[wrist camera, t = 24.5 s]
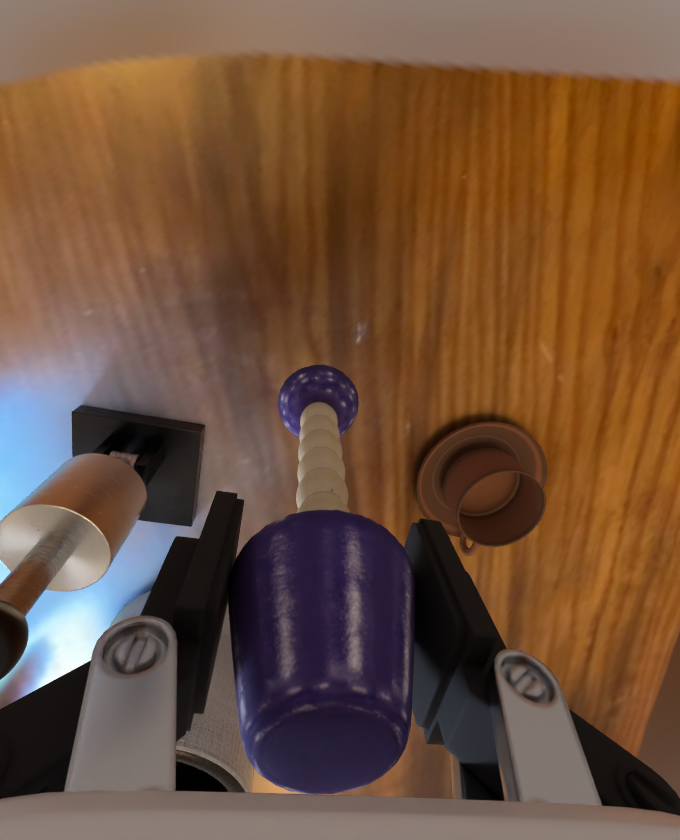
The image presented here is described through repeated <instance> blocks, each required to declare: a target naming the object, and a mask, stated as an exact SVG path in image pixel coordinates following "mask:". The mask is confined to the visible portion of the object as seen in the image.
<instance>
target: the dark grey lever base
mask: <svg viewBox="0 0 680 840" xmlns="http://www.w3.org/2000/svg"><path fill="white" fill-rule="evenodd" d="M204 430H205V425H200V424H193V423H187V422H181V421H175V420H168V419H162V418H156V417H150V416H144V415H137V414H131V413H125V412H119V411H112V410H106V409H100V408H94V407H87V406H79V407H78V408H77V409H75V410H74V411H72V454H73V457H75V456H78V455H82V454H88V453H98V454H105V455H109V454H110V453H111V452H112V451H113V450H115V451H122V452H129V453H135V454H141V456H142V457H141V459H140V460H139V461H138V462H137V464H136V472H137V473H138V474H139V476H140V477H141V479H142V481H143V483H144V485H145V488H146V492H147V501H146V505H145V508H144V510H143V512H142V514H141V515H140V517H139V519H138V520H142V521H150V522H158V523H166V524H174V525H182V526H190V527H191V526H192V524H193V521H194V519H195V515H196V505H197V496H198V487H199V477H200V468H201V458H202V449H203V439H204Z"/></svg>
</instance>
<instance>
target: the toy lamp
mask: <svg viewBox="0 0 680 840" xmlns="http://www.w3.org/2000/svg"><path fill="white" fill-rule="evenodd" d="M278 407H279V413H280V416H281V418H282V421H283V423H284V424H285V426H286V427H287V428H288V429H289V430H290V431H291V432H292V433H293V434H294V435H295V436H297V437H298V438H299V439H300V445H299V449H298V457H299V461H300V463H299V467H298V472H297V475H298V481H299V486H298V489H297V494H296V501H297V507H298V511H297V513H295V514H291V515H288V516H286V517H284V518H282V519H281V520H278V521H275V522H273V523H271V524H269V525H267V526H265V527H264V528H263V529H262V530H261V531H260V532H258V533H257V534H255V535H254V536H253V537H251V539H250V540H249V541H248V542H247V543H246V544H245V546H244V547H243V548H242V550H241V552H240V553H239V555H238V556H237V558H236V560H235V562H234V564H233V567H232V571H231V575H230V580H229V586H228V611H229V622H230V635H231V647H232V659H233V669H234V680H235V690H236V700H237V709H238V718H239V727H240V734H241V739H242V743H243V746H244V750H245V753H246V756H247V758H248V760H249V762H250V763H251V765H252V766H253V767H254V768H255V770H256V771H257V772H258V773H259V774H260V775H261V776H262V777H264V778H266V779H267V780H269V781H270V782H272V783H273V784H275V785H277V786H279V787H282V788H284V789H287V790H289V791H292V792H300V793H308V794H334V793H339V792H344V791H348V790H352V789H356V788H359V787H362V786H365V785H367V784H370V783H371V782H373V781H375V780H376V779H378V778H380V777H381V776H383V775H384V774H385V773H386V772H388V771H389V770H390V769H391V768H392V767H393V766H394V765H395V764H396V763H397V761H398V760H399V758H400V757H401V755H402V753H403V751H404V750H405V747H406V744H407V740H408V736H409V732H410V726H411V714H412V693H413V669H414V640H415V578H414V573H413V568H412V565H411V562H410V559H409V557H408V555H407V553H406V551H405V549H404V548H403V546H402V545H401V544H400V543H399V542H398V541H397V539H396V537H395V536H393V535H392V534H391V533H390V532H389V531H388V530H387V529H386V528H384V527H383V526H382V525H380V524H377V523H376V522H374V521H372V520H371V519H369V518H365V517H364V516H362V515H357V514H353V513H350V511H349V509H348V507H347V504H348V490H347V487H346V484H345V482H344V480H345V466H344V463H343V460H342V447H341V444H340V442H339V438H340V436H341V435H343V434H344V433H345V432H346V431H347V430H348V429H349V428H350V426H351V425H352V423H353V422H354V420H355V417H356V415H357V411H358V393H357V390H356V388H355V386H354V384H353V383H352V381H351V380H350V379H349V378H348V377H347V376H346V375H345V374H344V373H343V372H341V371H340V370H338V369H336V368H334V367H330V366H326V365H313V366H309V367H304V368H302V369H299V370H298V371H296V372H295V373H293V374H292V375H291V376H289V377H288V379H286V381H285V382H284V384H283V386H282V388H281V390H280V393H279V399H278Z"/></svg>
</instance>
